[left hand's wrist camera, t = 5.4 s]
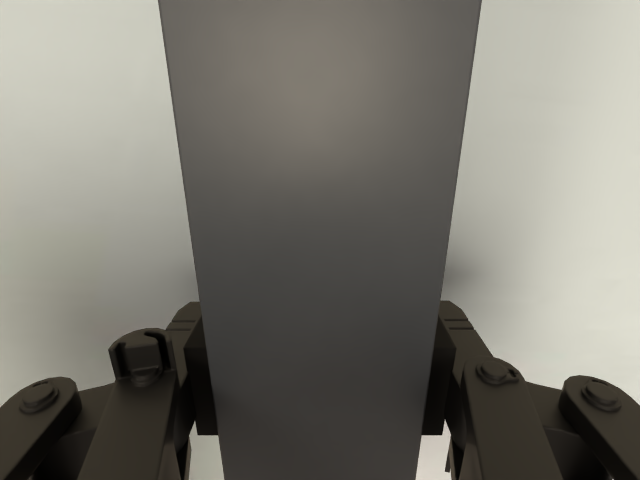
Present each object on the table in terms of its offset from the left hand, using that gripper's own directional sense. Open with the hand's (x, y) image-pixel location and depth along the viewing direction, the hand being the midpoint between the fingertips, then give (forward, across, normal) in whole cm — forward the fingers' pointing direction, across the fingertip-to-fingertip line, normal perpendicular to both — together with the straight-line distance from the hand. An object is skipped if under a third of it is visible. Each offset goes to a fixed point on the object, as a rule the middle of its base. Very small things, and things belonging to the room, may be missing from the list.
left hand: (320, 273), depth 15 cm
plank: (+1, 0, -28) cm, 28 cm away
